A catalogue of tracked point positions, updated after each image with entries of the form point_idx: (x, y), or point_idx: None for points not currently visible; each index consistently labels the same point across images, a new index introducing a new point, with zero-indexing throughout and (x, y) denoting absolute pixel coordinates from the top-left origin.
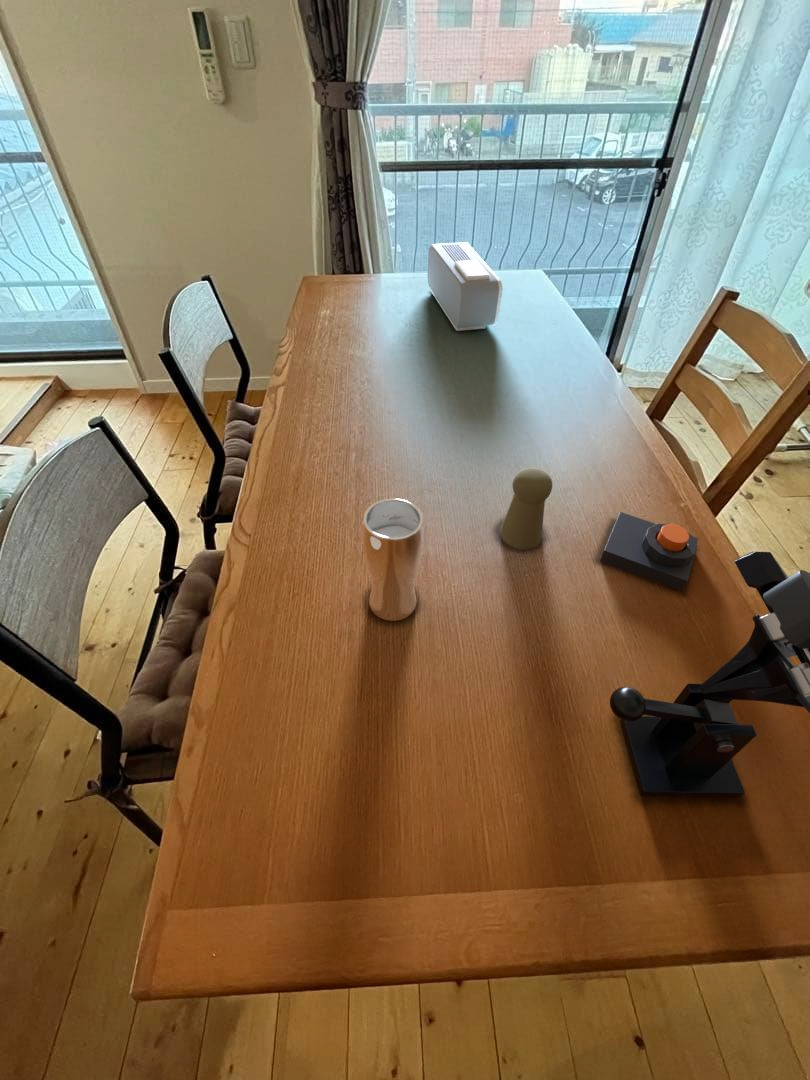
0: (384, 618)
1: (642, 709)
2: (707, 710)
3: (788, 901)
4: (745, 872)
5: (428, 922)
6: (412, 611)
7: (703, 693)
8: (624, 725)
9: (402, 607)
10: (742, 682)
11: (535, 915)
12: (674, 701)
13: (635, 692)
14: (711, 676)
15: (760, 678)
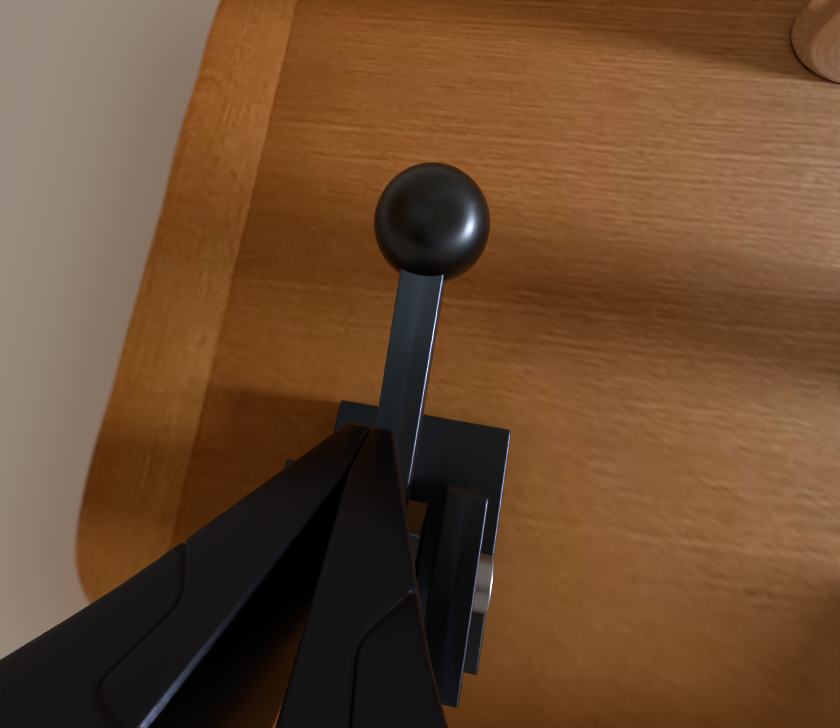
0: (797, 17)
1: (386, 229)
2: None
3: None
4: (175, 540)
5: (255, 40)
6: (819, 70)
7: (350, 423)
8: (488, 427)
9: (831, 19)
10: (215, 563)
11: (223, 169)
12: (475, 491)
13: (442, 207)
14: (396, 473)
15: (70, 687)
